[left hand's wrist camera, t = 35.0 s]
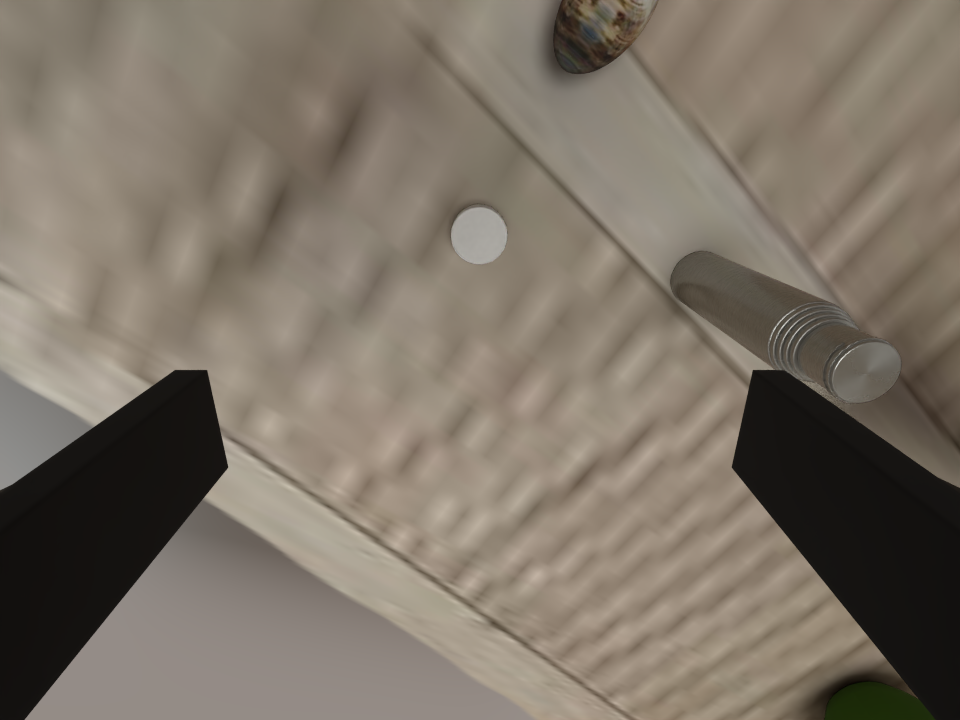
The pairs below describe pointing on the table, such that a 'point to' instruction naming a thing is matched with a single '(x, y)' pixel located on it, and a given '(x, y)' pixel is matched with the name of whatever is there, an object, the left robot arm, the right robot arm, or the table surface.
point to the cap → (479, 234)
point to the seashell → (597, 31)
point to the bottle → (787, 327)
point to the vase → (875, 704)
